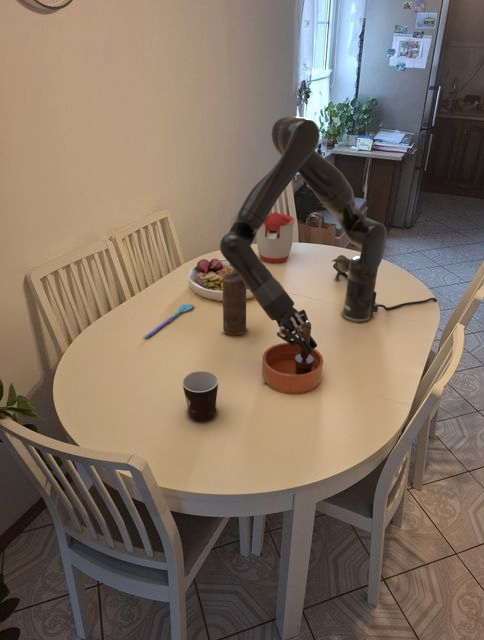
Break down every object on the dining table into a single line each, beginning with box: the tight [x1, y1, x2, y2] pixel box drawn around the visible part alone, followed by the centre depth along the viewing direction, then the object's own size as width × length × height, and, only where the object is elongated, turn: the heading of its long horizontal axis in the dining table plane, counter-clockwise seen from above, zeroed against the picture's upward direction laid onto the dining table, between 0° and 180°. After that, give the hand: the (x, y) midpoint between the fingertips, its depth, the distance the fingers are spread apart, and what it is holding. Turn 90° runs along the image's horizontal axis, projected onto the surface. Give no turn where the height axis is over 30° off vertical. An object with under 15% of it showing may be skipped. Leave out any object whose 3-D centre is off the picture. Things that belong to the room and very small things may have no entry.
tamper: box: [295, 320, 314, 375], centre depth 130 cm, size 5×5×16 cm
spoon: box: [145, 304, 194, 339], centre depth 161 cm, size 25×4×1 cm, turn 158°
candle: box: [222, 272, 247, 336], centre depth 152 cm, size 8×7×20 cm
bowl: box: [187, 257, 255, 302], centre depth 183 cm, size 30×30×8 cm
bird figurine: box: [331, 254, 351, 281], centre depth 190 cm, size 13×10×20 cm
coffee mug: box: [181, 370, 219, 423], centre depth 119 cm, size 12×9×10 cm
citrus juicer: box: [256, 211, 295, 263], centre depth 203 cm, size 16×17×20 cm
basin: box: [261, 342, 324, 395], centre depth 136 cm, size 17×17×6 cm
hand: (312, 350), depth 130 cm, fingers closed on tamper
